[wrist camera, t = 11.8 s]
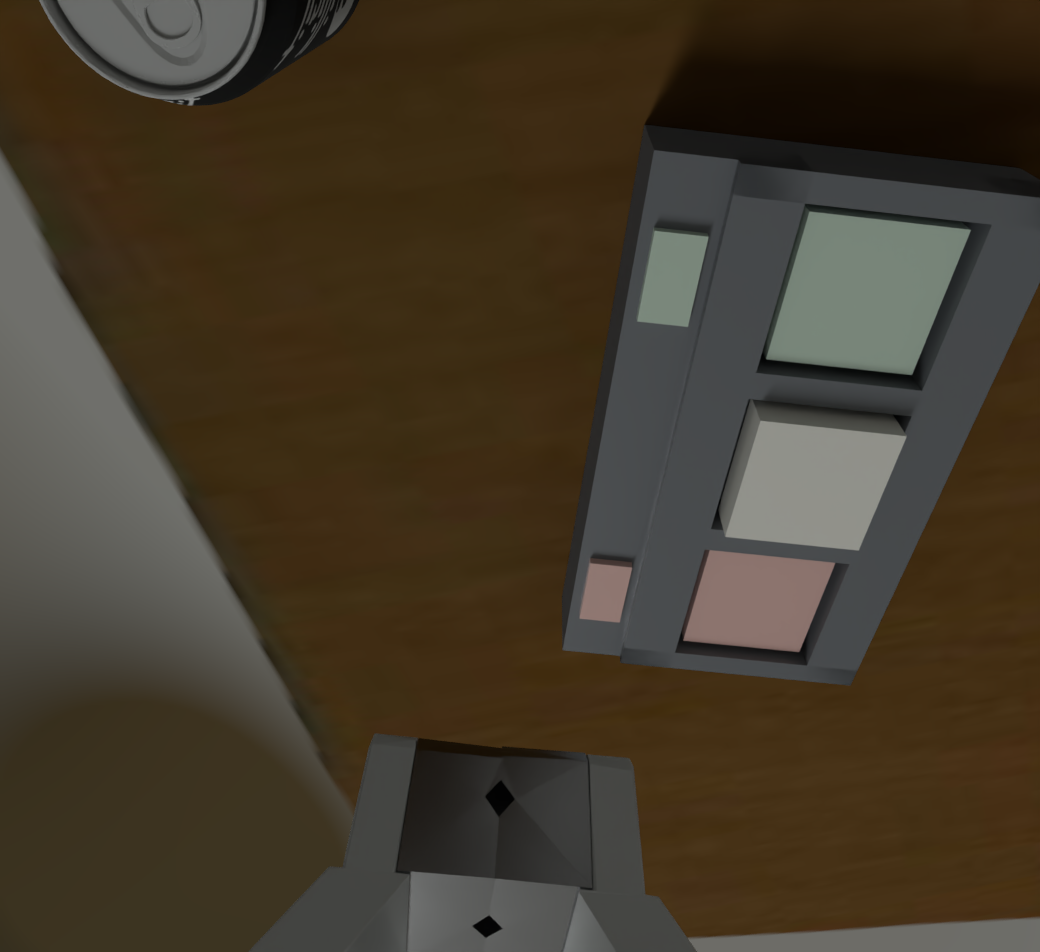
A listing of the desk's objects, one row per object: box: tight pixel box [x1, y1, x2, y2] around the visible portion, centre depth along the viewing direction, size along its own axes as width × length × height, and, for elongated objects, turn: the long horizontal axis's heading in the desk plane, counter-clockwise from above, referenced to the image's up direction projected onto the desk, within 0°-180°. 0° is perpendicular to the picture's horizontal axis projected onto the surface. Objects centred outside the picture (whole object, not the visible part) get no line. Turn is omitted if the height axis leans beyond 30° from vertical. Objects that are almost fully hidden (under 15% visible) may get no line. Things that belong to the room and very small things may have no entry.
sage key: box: [763, 204, 971, 375], centre depth 34 cm, size 6×6×2 cm
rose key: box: [681, 550, 835, 652], centre depth 43 cm, size 6×6×2 cm
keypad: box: [562, 125, 1040, 685], centre depth 39 cm, size 25×15×4 cm, turn 174°
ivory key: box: [718, 399, 907, 551], centre depth 37 cm, size 6×6×2 cm
